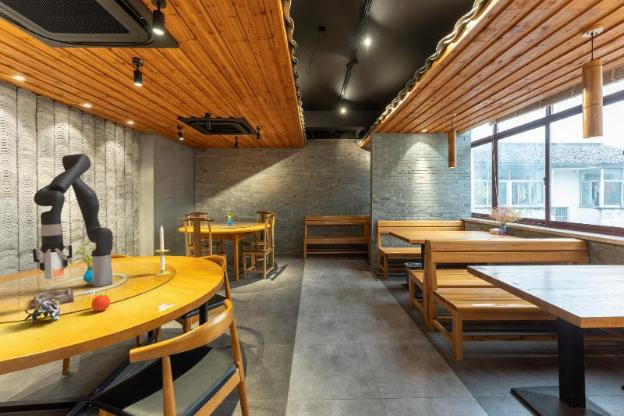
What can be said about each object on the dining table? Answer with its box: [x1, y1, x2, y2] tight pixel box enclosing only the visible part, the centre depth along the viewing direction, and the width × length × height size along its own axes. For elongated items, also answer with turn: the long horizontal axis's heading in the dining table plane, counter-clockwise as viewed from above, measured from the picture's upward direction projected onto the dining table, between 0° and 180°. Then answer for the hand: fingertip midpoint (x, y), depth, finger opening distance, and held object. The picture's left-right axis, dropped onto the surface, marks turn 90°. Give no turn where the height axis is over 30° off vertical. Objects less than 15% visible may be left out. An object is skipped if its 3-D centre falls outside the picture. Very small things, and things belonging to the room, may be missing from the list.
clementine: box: [91, 294, 113, 312], centre depth 131 cm, size 8×7×7 cm
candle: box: [153, 225, 172, 276], centre depth 195 cm, size 10×10×32 cm
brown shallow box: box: [30, 288, 75, 310], centre depth 144 cm, size 15×18×3 cm
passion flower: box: [23, 299, 62, 326], centre depth 118 cm, size 11×11×12 cm
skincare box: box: [42, 250, 65, 280], centre depth 137 cm, size 6×4×12 cm
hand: (54, 269), depth 137 cm, fingers closed on skincare box, 7 cm apart
